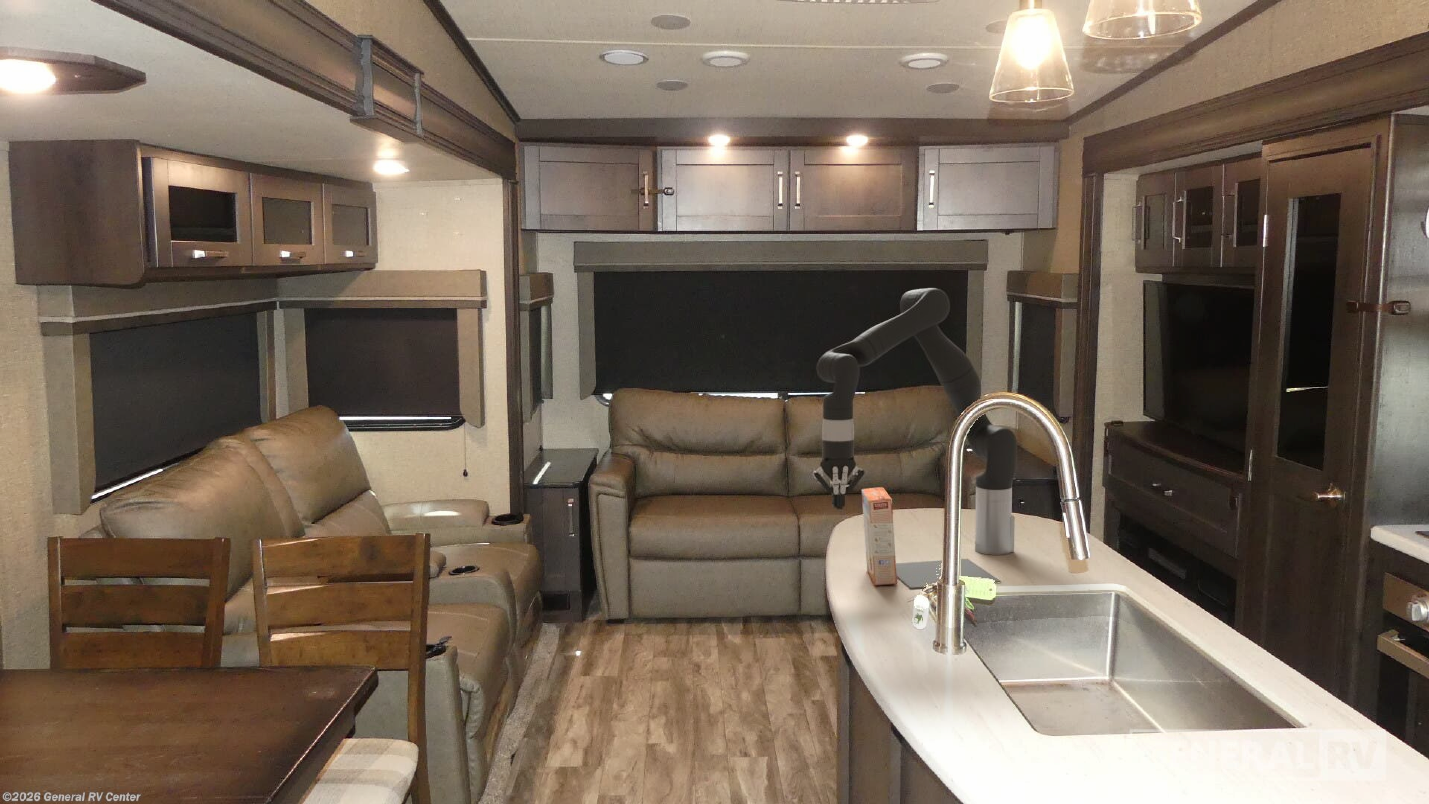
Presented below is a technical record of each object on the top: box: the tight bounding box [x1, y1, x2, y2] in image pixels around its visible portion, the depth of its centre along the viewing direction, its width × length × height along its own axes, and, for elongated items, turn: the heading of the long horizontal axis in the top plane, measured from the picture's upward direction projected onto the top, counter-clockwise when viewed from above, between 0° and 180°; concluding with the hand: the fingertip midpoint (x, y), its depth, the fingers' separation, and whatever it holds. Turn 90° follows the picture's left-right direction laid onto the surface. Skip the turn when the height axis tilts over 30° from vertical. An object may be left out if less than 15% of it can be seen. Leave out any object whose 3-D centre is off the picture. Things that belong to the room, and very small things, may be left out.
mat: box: [896, 558, 1002, 590], centre depth 261 cm, size 22×20×1 cm
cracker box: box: [861, 487, 898, 586], centre depth 257 cm, size 14×6×21 cm, turn 179°
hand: (838, 508), depth 255 cm, fingers closed
